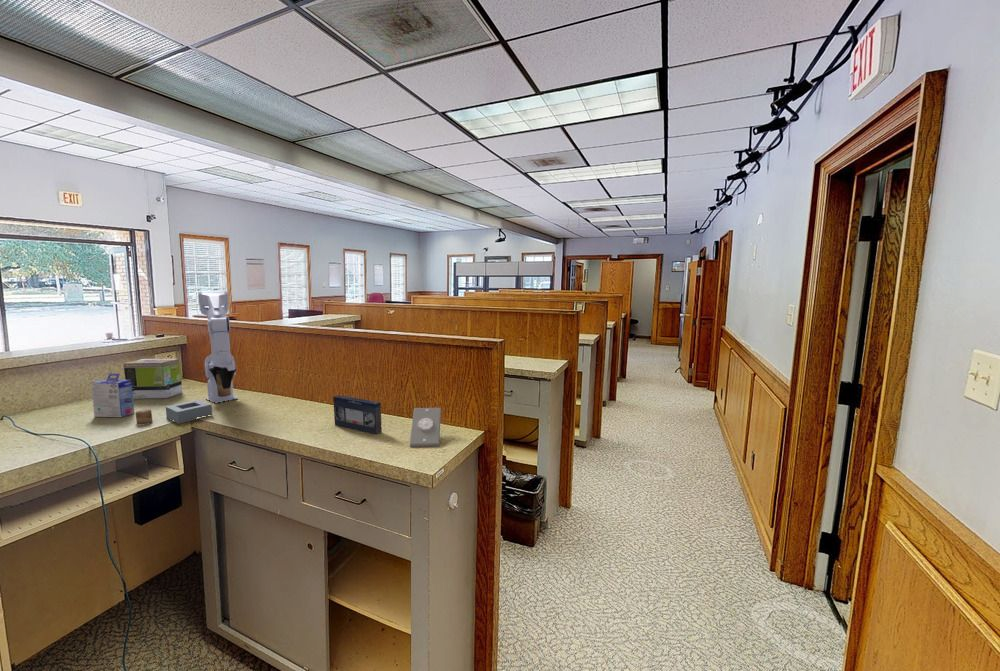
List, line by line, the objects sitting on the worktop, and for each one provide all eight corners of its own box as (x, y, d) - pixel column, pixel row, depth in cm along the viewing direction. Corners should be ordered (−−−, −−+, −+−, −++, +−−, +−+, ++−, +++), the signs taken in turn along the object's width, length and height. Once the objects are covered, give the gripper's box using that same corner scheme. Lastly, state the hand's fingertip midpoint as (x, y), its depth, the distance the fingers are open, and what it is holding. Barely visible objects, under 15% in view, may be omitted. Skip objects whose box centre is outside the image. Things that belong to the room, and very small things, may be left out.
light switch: (409, 442, 120) (413, 405, 132) (410, 455, 124) (414, 418, 135) (438, 441, 121) (440, 405, 133) (439, 454, 124) (441, 418, 136)
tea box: (183, 392, 176) (180, 357, 174) (165, 399, 166) (162, 362, 164) (146, 392, 175) (142, 357, 173) (126, 399, 165) (122, 362, 163)
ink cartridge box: (136, 412, 149) (131, 373, 147) (121, 417, 143) (117, 376, 141) (108, 412, 149) (104, 372, 147) (93, 417, 144) (88, 376, 142)
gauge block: (166, 417, 144) (165, 406, 143) (199, 410, 152) (198, 399, 151) (178, 423, 138) (177, 411, 138) (212, 415, 147) (211, 404, 146)
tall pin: (215, 395, 152) (214, 374, 151) (227, 393, 156) (226, 372, 155) (221, 397, 150) (219, 375, 149) (233, 394, 154) (231, 373, 152)
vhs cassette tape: (334, 425, 138) (332, 396, 137) (341, 423, 141) (340, 394, 139) (375, 435, 130) (374, 404, 128) (382, 432, 132) (381, 402, 131)
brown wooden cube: (134, 423, 138) (133, 411, 138) (150, 420, 142) (148, 408, 141) (139, 425, 136) (137, 413, 136) (154, 422, 139) (153, 410, 139)
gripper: (199, 350, 151) (202, 386, 153) (217, 354, 143) (221, 392, 145) (220, 347, 157) (223, 382, 159) (239, 351, 149) (242, 388, 151)
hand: (223, 387), depth 153 cm, fingers closed on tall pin, 4 cm apart
